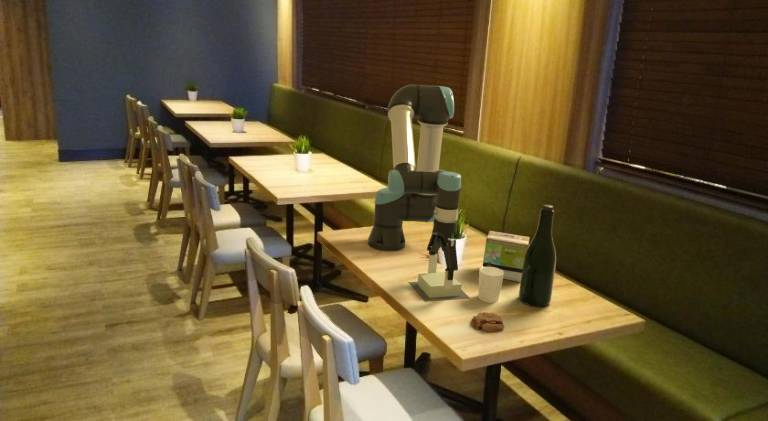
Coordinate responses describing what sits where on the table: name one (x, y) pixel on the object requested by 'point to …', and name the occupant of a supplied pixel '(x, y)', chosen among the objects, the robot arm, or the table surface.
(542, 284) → the dark green wine bottle
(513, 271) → the tea box
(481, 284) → the white cup
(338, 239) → the table surface
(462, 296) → the mat
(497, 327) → the cookie
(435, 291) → the lid
